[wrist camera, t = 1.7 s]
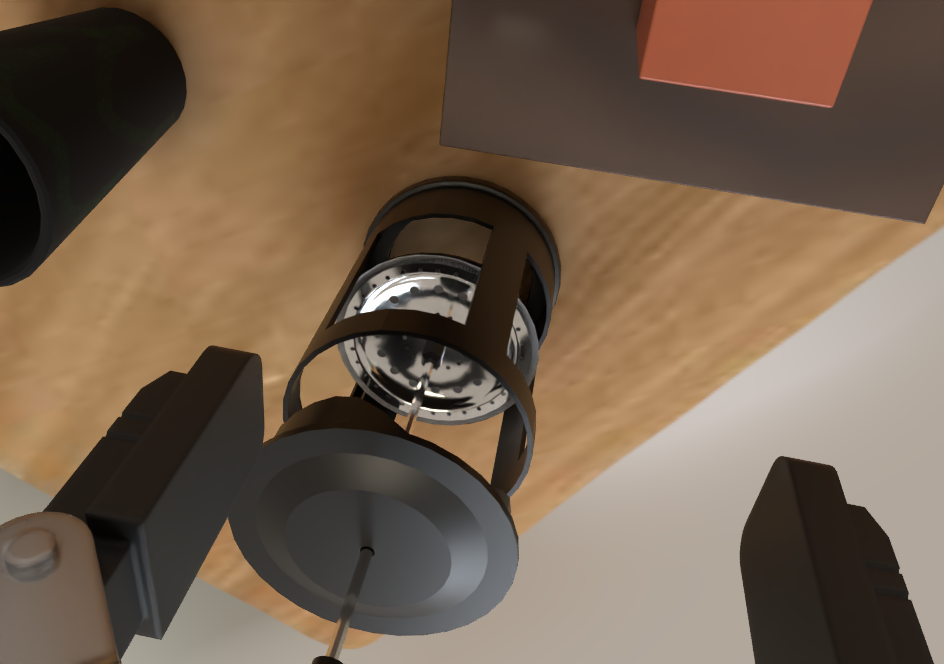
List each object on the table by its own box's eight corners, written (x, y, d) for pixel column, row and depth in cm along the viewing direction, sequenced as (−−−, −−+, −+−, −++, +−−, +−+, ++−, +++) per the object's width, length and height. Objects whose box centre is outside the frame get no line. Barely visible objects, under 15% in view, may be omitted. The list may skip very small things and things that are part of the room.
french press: (447, 121, 34) (233, 532, 15) (613, 252, 36) (605, 751, 18) (312, 297, 40) (40, 744, 22) (461, 400, 43) (333, 886, 24)
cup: (164, -39, 32) (-36, 38, 22) (236, 142, 36) (93, 274, 26) (7, 2, 34) (-240, 88, 24) (92, 169, 38) (-92, 301, 28)
